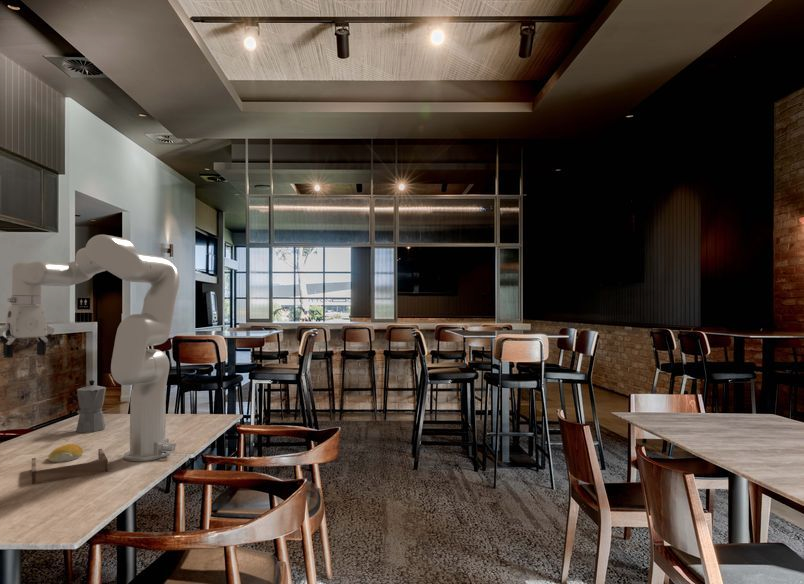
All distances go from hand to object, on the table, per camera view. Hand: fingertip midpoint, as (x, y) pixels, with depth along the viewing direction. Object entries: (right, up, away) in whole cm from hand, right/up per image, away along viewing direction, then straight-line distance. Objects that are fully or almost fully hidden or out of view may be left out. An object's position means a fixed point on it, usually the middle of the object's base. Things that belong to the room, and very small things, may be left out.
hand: (25, 356), depth 161 cm
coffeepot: (+4, -30, +26) cm, 40 cm away
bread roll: (+19, -29, -10) cm, 36 cm away
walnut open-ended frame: (+28, -28, -22) cm, 46 cm away
